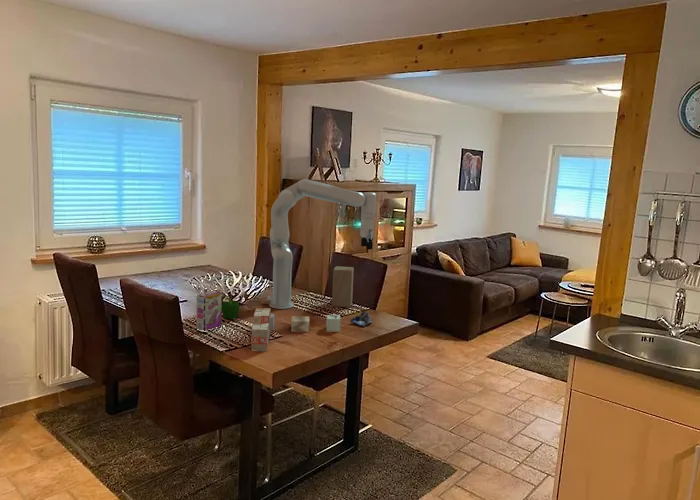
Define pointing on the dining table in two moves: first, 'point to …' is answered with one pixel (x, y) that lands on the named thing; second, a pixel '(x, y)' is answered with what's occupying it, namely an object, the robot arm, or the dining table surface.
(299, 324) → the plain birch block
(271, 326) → the grey-blue numbered cube
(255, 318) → the stack of blocks
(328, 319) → the sage numbered cube
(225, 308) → the bell pepper
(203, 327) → the candy bar box
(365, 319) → the snack package
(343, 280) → the wooden block
